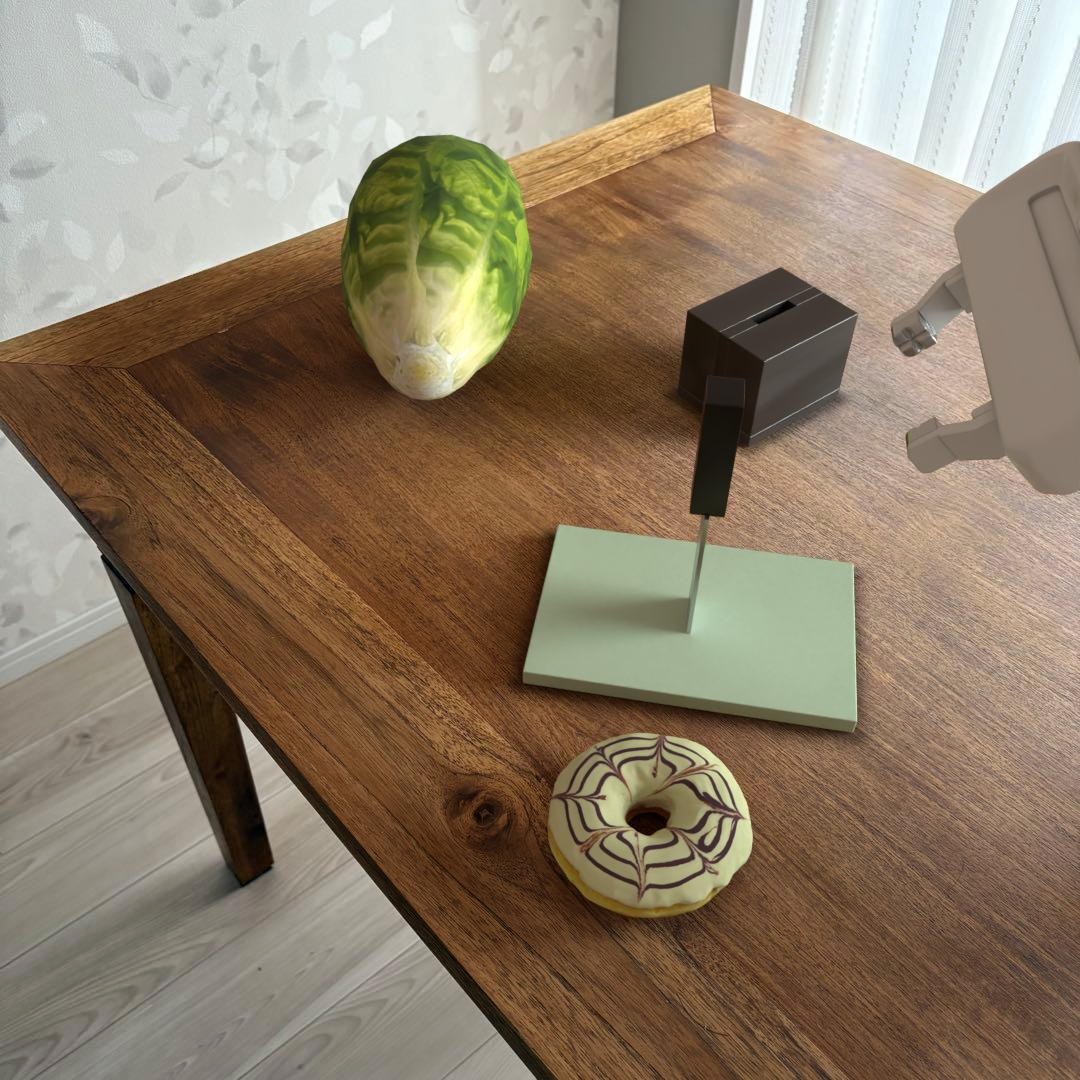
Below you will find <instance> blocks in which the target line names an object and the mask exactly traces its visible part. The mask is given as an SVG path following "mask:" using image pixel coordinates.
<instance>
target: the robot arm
mask: <svg viewBox="0 0 1080 1080" xmlns="http://www.w3.org/2000/svg"><path fill="white" fill-rule="evenodd" d="M953 234H954V238H955V244H956V248H957V252H958V256H959V262H960V263H958V264H956V265H955V266H953V267H951V268H950V269H948V270H946V271H944V272H943V273H942V274H941V275H940V276H939V278H938V279H936V281H935V282H934V283H933V284H932V285H931V286H930V287H929V289H928V290H927V291H926V292H925V293H924V295H923V296H921V298H920V299H919V300H918V301H917V303H916V304H915V305H914V306H913V307H911V308H909V309H907V310H906V311H905V312H903V313H901V314H899V315H898V316H896V317H895V318H893V319H892V321H891V322H890V332H891V337H892V343H893V344H894V346H895V347H896V348H898V350H899V352H900V353H901V354H902V355H903V356H904V357H907V358H912V357H916V356H917V355H919V354H920V353H921V352H922V351H924V350H927V349H929V348H931V347H933V346H935V345H937V344H938V336H937V334H939V333H940V332H941V331H942V330H943V329H944V328H945V327H947V326H948V325H949V324H950V323H951V322H952V321H953V320H954V319H955V318H956V317H958V316H959V315H960V314H961V313H962V312H963V311H965V312H966V314H971V315H972V318H973V322H974V329H975V332H976V337H977V341H978V345H979V350H980V354H981V358H982V364H983V368H984V371H985V376H986V380H987V381H986V382H987V385H988V390H989V395H990V397H991V398H990V399H991V400H988V401H987V402H985V403H983V404H982V405H979V406H978V407H975V408H974V409H972V411H970V415H971V418H972V419H970V420H964V421H958V422H953V423H948V424H942V423H941V422H940V420H938V418H937V417H936V416H933V417H931V418H929V419H927V420H925V421H924V422H922V423H921V424H920V425H919V426H918V427H912V428H910V429H909V430H908V431H907V432H906V433H905V438H904V440H905V447H906V454H907V459H908V460H909V461H910V463H912V465H913V466H914V467H915V468H916V469H917V470H918V471H919V472H920V473H922V474H926V475H927V474H932V473H934V472H936V471H939V470H940V469H942V468H944V467H947V466H949V465H951V464H953V463H954V462H957V461H959V462H961V461H962V462H963V461H967V462H968V461H990V460H1000V459H1002V458H1004V457H1007V459H1008V460H1009V461H1010V462H1011V463H1012V464H1013V466H1014V467H1015V469H1016V470H1017V471H1018V472H1019V473H1020V474H1021V475H1022V477H1023V478H1024V479H1025V480H1026V481H1027V483H1028V484H1029V485H1030V486H1031V487H1032V488H1033V489H1034V490H1035V491H1036V492H1038V493H1039V494H1042V495H1052V496H1053V495H1054V496H1055V495H1056V496H1067V495H1072V494H1073V493H1074V494H1075V493H1076V492H1078V491H1080V140H1071V141H1066V142H1063V143H1061V144H1059V145H1056V146H1055V147H1053V148H1051V149H1048V150H1047V151H1045V152H1044V153H1042V154H1040V155H1039V156H1037V157H1036V158H1034V159H1032V160H1031V161H1029V162H1028V163H1027V164H1025V165H1024V166H1022V167H1021V168H1019V169H1018V170H1016V171H1014V172H1013V173H1012V174H1010V175H1008V176H1007V177H1005V179H1003V180H1002V181H1000V182H999V183H996V185H994V186H993V187H992V188H990V189H989V190H987V191H986V192H984V193H983V194H981V195H979V197H978V198H976V199H975V200H974V201H973V202H971V204H969V206H968V207H967V208H966V210H964V212H963V213H962V214H961V215H960V217H959V218H958V220H957V221H956V222H955V224H954V225H953Z"/></svg>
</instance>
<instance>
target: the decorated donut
mask: <svg viewBox="0 0 1080 1080" xmlns="http://www.w3.org/2000/svg"><path fill="white" fill-rule="evenodd" d="M646 813H657V814H659V815H660V816H661V817H664V818H665V819H666V820H667V822H666V827H665V828H662V829H659V830H657V831H655V832H654V833H653V834H651V835H645V834H643V833H641V832H639V831H637V830H636V829H634V828H633V827H631V825H629V823H630V821H631V820H632V819H634V817H635V816H637V815H641V814H646ZM753 838H754V836H753V829H752V821H751V816H750V811H749V805H748V803H747V800H746V798H745V796H744V793H743V790H742V789H741V787H740V785H739V783H738V781H737V780H736V779H735V777H734V775H733V773H732V772H731V771H730V770H729V769H728V767H727V766H726V765H725V764H724V763H723V762H722V760H720V759H719V757H717V756H716V755H715V754H714V753H712V752H711V750H709V749H708V748H707V747H705V746H704V745H702V744H700V743H698V742H696V741H692V740H689V739H687V738H684V737H677V736H672V735H664V734H657V733H649V732H633V733H626V734H622V735H617V736H613V737H610V738H609V737H608V738H607V739H605V740H602V741H599V742H597V743H595V744H592V745H591V746H589V747H588V748H586V750H584V751H583V752H581V753H579V754H578V755H576V756H575V757H573V759H572V760H571V761H570V762H569V763H568V764H567V765H566V767H564V768H563V769H562V770H561V771H560V772H559V774H558V776H557V778H556V781H555V782H554V784H553V792H552V796H551V798H550V802H549V808H548V815H547V839H548V844H549V847H550V850H551V854H552V855H553V857H554V859H555V860H556V862H557V864H558V866H559V867H560V868H561V870H562V871H563V872H564V874H565V875H566V878H567V880H568V881H569V882H570V883H571V884H572V885H574V886H575V888H577V889H578V891H579V892H580V893H581V895H582V896H584V898H585V899H587V900H588V901H590V902H592V903H594V904H596V905H598V906H600V907H602V908H604V909H607V910H609V911H611V912H613V913H617V914H619V915H621V916H624V917H628V918H634V919H635V918H637V919H639V918H640V919H659V918H671V917H672V918H673V917H676V916H679V915H684V914H686V913H688V912H693V911H696V910H697V909H700V908H701V907H703V906H704V905H706V904H707V903H708V902H710V901H711V900H712V899H713V898H715V896H716V895H718V893H720V891H721V890H723V889H724V888H725V887H726V886H728V885H729V883H730V882H731V880H732V877H733V876H734V874H735V873H736V872H737V871H738V870H740V868H741V867H742V866H744V865H745V864H746V863H747V861H748V859H749V857H750V856H751V853H752V849H753V841H754V839H753Z"/></svg>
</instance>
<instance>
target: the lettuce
mask: <svg viewBox="0 0 1080 1080" xmlns="http://www.w3.org/2000/svg"><path fill="white" fill-rule="evenodd" d="M355 189H356V190H355V191H354V194H353V196H352V198H351V200H350V202H349V205H348V213H347V219H346V221H347V222H346V226H345V231H344V234H343V237H342V241H341V246H340V274H341V286H342V297H343V301H344V306H345V309H346V312H347V314H348V315H347V316H348V317H349V320H350V321H351V324H352V326H353V328H354V331H355V334H356V335H357V338H358V340H359V342H360V344H361V347H362V349H363V351H364V352H365V353H366V354H367V355H368V356H369V357H370V358H371V359H372V361H373V362H374V365H375V366H376V368H377V370H378V372H379V374H380V376H382V378H384V380H385V381H386V382H387V383H388V384H389V385H390V386H391V387H392V388H393V389H394V390H396V391H397V392H399V393H401V394H402V395H404V396H407V397H408V398H410V399H414V400H421V401H427V402H429V401H432V400H433V401H434V400H436V399H443V398H445V397H447V396H450V395H451V394H453V393H454V392H456V391H457V390H458V389H460V388H462V387H463V386H465V384H467V382H468V381H470V379H471V378H472V377H473V376H474V375H475V373H477V371H479V370H480V369H481V368H483V367H484V366H486V365H488V364H489V363H490V362H491V361H493V359H494V358H495V357H496V356H497V354H498V353H499V352H500V351H501V349H502V347H503V345H504V344H505V342H506V340H507V338H508V336H509V334H510V332H511V330H512V329H513V327H514V324H515V322H516V320H517V318H518V316H519V314H520V310H521V306H522V302H523V300H524V297H525V296H526V293H527V291H528V288H529V285H530V277H531V276H530V275H531V267H532V259H533V258H532V257H533V252H532V251H533V250H532V246H531V241H530V235H529V230H528V223H527V216H526V209H525V206H524V204H523V198H522V188H521V186H520V184H519V181H518V179H517V178H516V175H515V174H514V171H513V169H512V167H511V165H510V164H509V162H507V161H506V160H505V159H503V157H501V156H500V155H498V154H497V153H496V152H494V150H492V149H491V148H490V147H489V146H488V145H486V144H484V143H481V142H478V141H475V140H471V139H468V138H465V137H462V136H457V135H454V134H435V135H434V134H433V135H417V136H415V137H412V138H410V139H408V140H406V141H404V142H401V143H400V144H397V145H395V146H394V147H391V149H388V150H387V151H386V152H384V153H382V154H380V155H378V156H377V157H375V158H374V159H372V161H371V162H370V164H369V166H367V169H366V170H365V172H364V173H363V174H362V177H361V179H360V181H359V183H358V185H357V187H356V188H355Z"/></svg>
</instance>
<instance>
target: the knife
mask: <svg viewBox="0 0 1080 1080" xmlns="http://www.w3.org/2000/svg"><path fill="white" fill-rule="evenodd" d="M744 403H745V379H738V378H728V377H718V376H707V382H706V389H705V396H704V403H703V410H702V413H701V418H700V423H699V430H698V431H699V432H698V438H697V439H698V440H697V446H696V451H695V458H694V466H693V474H692V479H691V487H690V488H691V489H690V499H689V501H690V502H689V511H688V512H689V514H690V515H697V516H700V521H699V522H700V523H699V529H698V533H697V534H698V535H697V542H696V543H697V547H696V554H695V560H694V566H693V573H692V579H691V586H690V592H689V599H688V612H687V625H686V633H689V634H690V633H691V629H692V623H693V616H694V610H695V604H696V598H697V592H698V586H699V580H700V574H701V568H702V562H703V556H704V550H705V544H707V537H708V531H709V526H710V525H709V524H710V517H712V518H713V517H715V518H723V519H724V518H725V517H726V513H727V507H728V501H729V497H730V490H731V484H732V479H733V474H734V467H735V462H736V456H737V451H738V446H739V435H740V429H741V423H742V418H743V412H744Z"/></svg>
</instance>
